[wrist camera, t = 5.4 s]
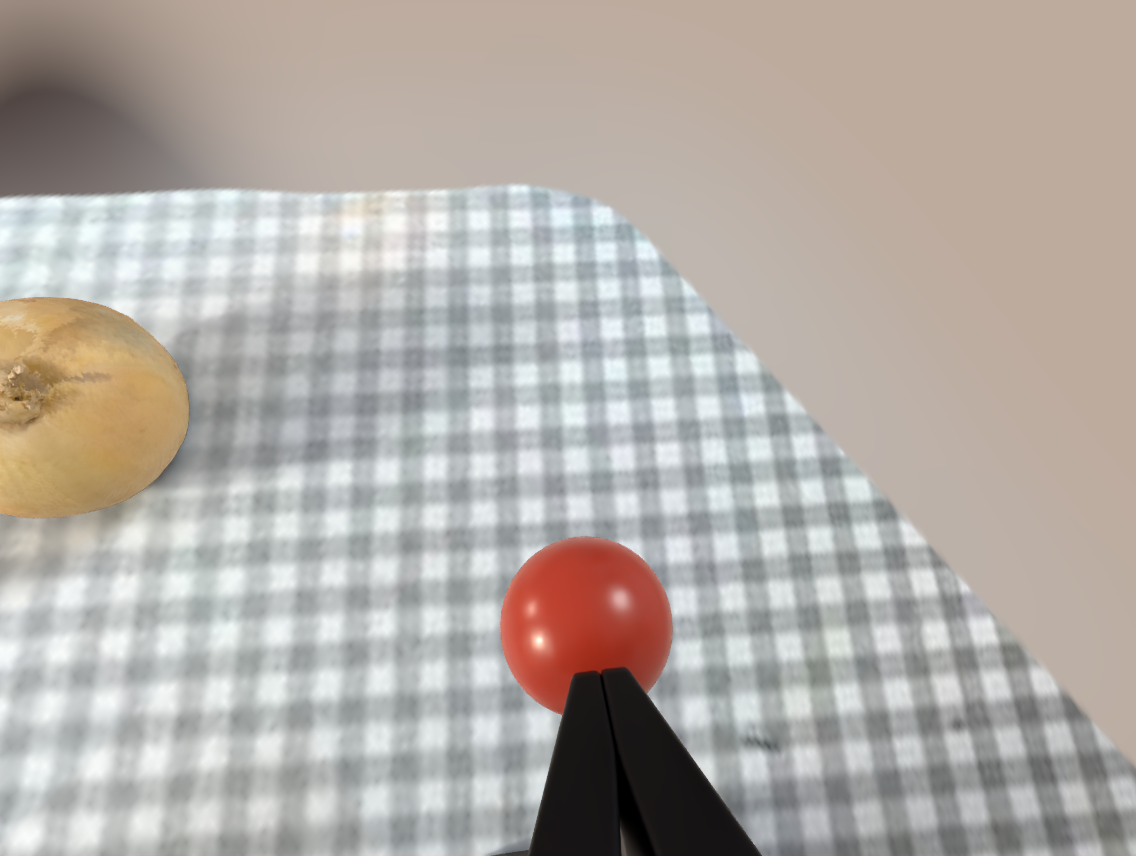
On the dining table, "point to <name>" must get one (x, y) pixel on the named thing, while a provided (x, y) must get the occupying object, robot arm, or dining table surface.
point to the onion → (82, 407)
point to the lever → (584, 618)
